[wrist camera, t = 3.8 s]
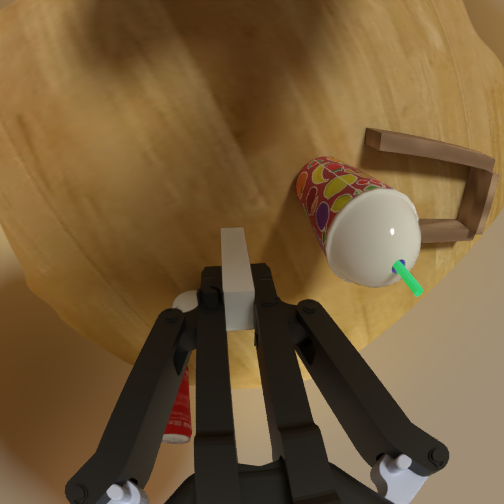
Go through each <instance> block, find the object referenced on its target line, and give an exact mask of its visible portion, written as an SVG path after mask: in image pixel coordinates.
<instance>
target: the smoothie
mask: <svg viewBox="0 0 504 504" xmlns="http://www.w3.org/2000/svg"><path fill="white" fill-rule="evenodd" d="M296 194H297V197H298V200H299V202H300V204H301V206H302V208H303V210H304V212H305V214H306V216H307V218H308V220H309V222H310V224H311V226H312V228H313V230H314V232H315V234H316V237H317V239H318V241H319V243H320V245H321V247H322V249H323V252H324V254H325V256H326V258H327V262H328V265H329V266H330V268H331V269H332V271H333V272H334V274H335V275H337V276H338V277H340V278H341V279H343V280H344V281H347V282H351V283H355V284H357V285H360V286H365V287H370V288H379V287H386V286H389V285H392V284H394V283H396V282H398V281H399V280H401V279H403V280H404V282H405V283H406V284H407V285H408V287H409V288H410V289H411V291H412V292H413V293H414V295H415V296H420V295H421V294H422V293H423V289H422V287H421V286H420V285H419V284H418V282H417V281H416V280H415V279H414V277H413V276H412V275H411V274H410V271H411V269H412V268H413V266H414V265H415V263H416V261H417V258H418V255H419V252H420V248H421V230H420V227H419V223H418V215H417V212H416V209H415V206H414V204H413V203H412V202H411V201H410V199H409V198H408V197H407V196H406V195H404V194H402V193H400V192H398V191H396V190H395V189H393V188H391V187H389V186H388V185H386V184H384V183H382V182H380V181H379V180H377V179H375V178H373V177H371V176H369V175H368V174H366V173H364V172H362V171H360V170H358V169H356V168H354V167H352V166H350V165H348V164H346V163H344V162H342V161H340V160H338V159H335V158H333V157H320V158H317V159H313V160H312V161H310V162H309V163H308V164H306V165H305V166H304V167H303V169H302V170H301V171H300V173H299V175H298V178H297V180H296Z"/></svg>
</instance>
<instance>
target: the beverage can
mask: <svg viewBox="0 0 504 504" xmlns="http://www.w3.org/2000/svg"><path fill="white" fill-rule="evenodd" d="M190 415H191V414H190V400H189V379H188V367H186V370H185V373H184V375H183V378H182V381H181V384H180V387H179V390H178V393H177V396H176V399H175V402H174V405H173V408H172V411H171V414H170V417H169V420H168V423H167V426H166V429H165V432H164V435H163V438H162V442H165V443H169V444H183V443H187V442H189V441H190V437H191V434H192V428H191V416H190Z"/></svg>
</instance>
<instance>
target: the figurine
mask: <svg viewBox="0 0 504 504" xmlns="http://www.w3.org/2000/svg"><path fill="white" fill-rule="evenodd" d="M196 293H197V290H190V291H185V292H183V293H181V294H180V295H178V296H177V297H176V298H175V300H174V302H173V304H172V308H177V309H180V310H181V311H182V312H183V313H184V312H187V311H190V310H193V309H194V308H196V307H197V306H198V302H197V295H196Z"/></svg>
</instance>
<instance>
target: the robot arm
mask: <svg viewBox="0 0 504 504" xmlns="http://www.w3.org/2000/svg"><path fill="white" fill-rule="evenodd" d="M221 254H222V266H213V267H205V268H204V270H203V271H202V274H201V287H200V288H199V289H198V290H197V293H196V295H197V302H198V306H197V307H196V308H194V309H193V310H190V311H187V312H184V313H183V312H182V311H181V310H180V309H177V308H169V309H166V310H164V311H162V312H161V313H160V314H159V316H158V318H157V320H156V322H155V324H154V326H153V328H152V330H151V332H150V334H149V336H148V338H147V340H146V342H145V344H144V346H143V348H142V350H141V352H140V354H139V356H138V358H137V360H136V362H135V364H134V366H133V369H132V371H131V373H130V375H129V377H128V379H127V381H126V383H125V386H124V388H123V390H122V392H121V394H120V397H119V399H118V401H117V403H116V406H115V408H114V410H113V412H112V415H111V417H110V419H109V422H108V424H107V426H106V429H105V431H104V433H103V436H102V438H101V440H100V443H99V446H98V448H97V450H96V453H95V454H94V455H93V456H92V457H91V458H90V459H89V460H88V461H87V462H86V463H85V464H84V465H83V466H82V467H81V468H80V469H79V471H78V472H77V473H76V474H75V475H74V476H73V477H72V478H71V479H70V480H69V481H68V482H67V484H66V486H65V494H66V498H67V499H68V501H69V502H70V503H71V504H148V503H149V500H148V496H147V494H146V493H145V491H143V489H144V487H145V485H146V483H147V482H148V480H149V478H150V475H151V472H152V470H153V467H154V463H155V460H156V457H157V454H158V451H159V448H160V444H161V441H162V438H163V435H164V432H165V429H166V426H167V423H168V420H169V417H170V414H171V411H172V408H173V405H174V402H175V399H176V396H177V393H178V390H179V387H180V384H181V381H182V378H183V375H184V373H185V370H186V367H187V364H188V361H189V358H190V355H191V352H192V350H194V349H196V436H195V437H194V469H195V473H194V474H192V475H191V476H189V477H188V478H187V479H186V480H185V481H184V482H183V483H182V484H181V485H180V487H178V489H177V490H176V491H175V492H174V493H173V494H172V496H170V498H169V499H168V500H167V501H166V502H165V503H164V504H409V503H410V502H411V500H412V499H413V498H414V496H415V495H416V494H417V492H418V491H419V489H420V488H421V487H422V485H423V483H424V482H425V480H426V479H427V478H428V477H429V476H430V475H431V474H434V473H436V472H437V471H439V470H441V469H443V468H444V467H445V466H446V464H447V462H448V460H449V451H448V449H447V447H446V446H445V445H444V444H443V443H441V442H440V441H438V440H437V439H435V438H434V437H432V436H430V435H429V434H427V433H426V432H424V431H423V430H421V429H420V428H418V427H417V426H415V425H414V424H413V423H411V422H410V420H409V419H408V418H407V416H406V415H405V414H404V412H403V411H402V409H401V408H400V407H399V405H398V404H397V403H396V401H395V400H394V399H393V398H392V396H391V395H390V393H389V392H388V391H387V389H386V388H385V387H384V386H383V384H382V383H381V381H380V380H379V379H378V378H377V376H376V375H375V374H374V372H373V371H372V370H371V368H370V367H369V366H368V364H367V363H366V362H365V360H364V359H363V358H362V357H361V355H360V354H359V353H358V351H357V350H356V349H355V347H354V346H353V345H352V344H351V342H350V341H349V340H348V338H347V337H346V336H345V335H344V333H343V332H342V331H341V329H340V328H339V327H338V326H337V324H336V323H335V322H334V320H333V319H332V318H331V317H330V315H329V314H328V313H327V312H326V310H325V309H324V308H323V307H322V305H321V304H320V303H319V302H317V301H315V300H310V299H306V300H302V301H300V302H299V303H298V304H297V305H291V304H287V303H284V302H282V301H281V299H280V298H279V297H278V296H277V293H276V290H275V286H274V282H273V279H272V275H271V271H270V268H269V267H268V266H267V265H266V264H265V263H260V264H250V262H249V257H248V251H247V245H246V240H245V234H244V229H243V227H236V228H221ZM252 329H255V338H254V346H256V350H257V357H258V363H259V370H260V376H261V383H262V389H263V395H264V401H265V408H266V414H267V421H268V427H269V433H270V439H271V445H272V459H273V462H271V463H269V464H266V465H263V466H254V465H246V464H239V463H238V458H237V449H236V440H235V430H234V419H233V409H232V396H231V384H230V371H229V358H228V344H227V331H237V330H252ZM295 351H296V352H297V354H298V355H299V357H300V359H301V360H302V362H303V364H304V365H305V367H306V369H307V370H308V372H309V374H310V375H311V377H312V379H313V380H314V382H315V383H316V385H317V387H318V388H319V390H320V392H321V393H322V395H323V396H324V398H325V400H326V401H327V403H328V404H329V406H330V408H331V409H332V411H333V413H334V414H335V416H336V417H337V419H338V421H339V422H340V424H341V425H342V427H343V429H344V430H345V432H346V433H347V435H348V437H349V438H350V440H351V441H352V443H353V445H354V446H355V448H356V450H357V451H358V452H359V454H360V455H361V456H362V458H363V459H364V460H365V461H366V462H367V463H368V464H369V465H370V466H371V467H372V469H371V472H370V477H371V480H372V482H373V483H374V484H375V485H376V487H377V490H378V493H376V492H375V491H373V490H371V489H370V488H368V487H366V486H365V485H364V484H362V483H361V482H359V481H358V480H356V479H355V478H353V477H352V476H350V475H349V474H347V473H346V472H344V471H343V470H341V469H340V468H338V467H337V466H336V465H334V464H332V463H330V462H328V458H327V454H326V450H325V446H324V442H323V438H322V435H321V431H320V429H319V427H318V426H317V425H316V424H315V423H314V421H313V418H312V414H311V410H310V406H309V402H308V398H307V394H306V391H305V387H304V383H303V379H302V375H301V372H300V368H299V364H298V360H297V357H296V353H295Z"/></svg>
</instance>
